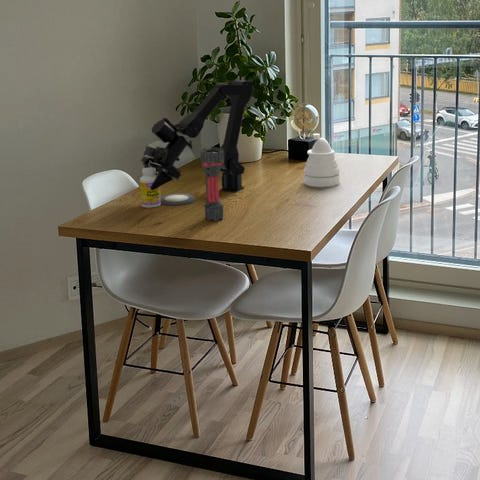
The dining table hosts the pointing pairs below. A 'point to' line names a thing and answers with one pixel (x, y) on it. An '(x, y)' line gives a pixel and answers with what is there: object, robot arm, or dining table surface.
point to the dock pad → (177, 199)
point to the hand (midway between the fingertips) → (146, 187)
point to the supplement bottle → (147, 195)
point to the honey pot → (321, 165)
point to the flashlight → (212, 181)
